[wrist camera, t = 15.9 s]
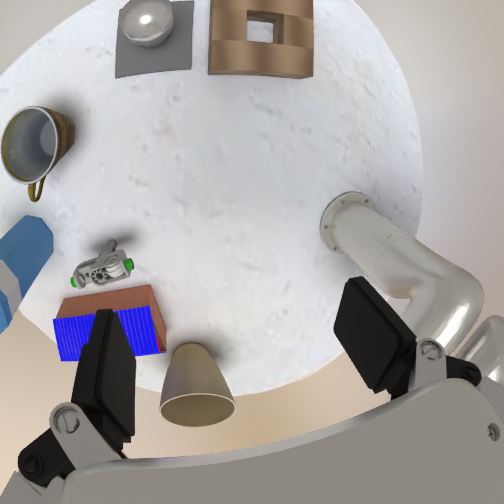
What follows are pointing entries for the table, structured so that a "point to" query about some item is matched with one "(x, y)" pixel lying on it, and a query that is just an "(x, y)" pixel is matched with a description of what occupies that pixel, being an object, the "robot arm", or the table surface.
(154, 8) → the grey metal cylinder
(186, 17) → the mat
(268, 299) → the table surface
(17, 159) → the ceramic cup
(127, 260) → the mechanical component
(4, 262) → the water bottle
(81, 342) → the house
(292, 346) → the table surface
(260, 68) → the housing
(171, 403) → the plant pot
